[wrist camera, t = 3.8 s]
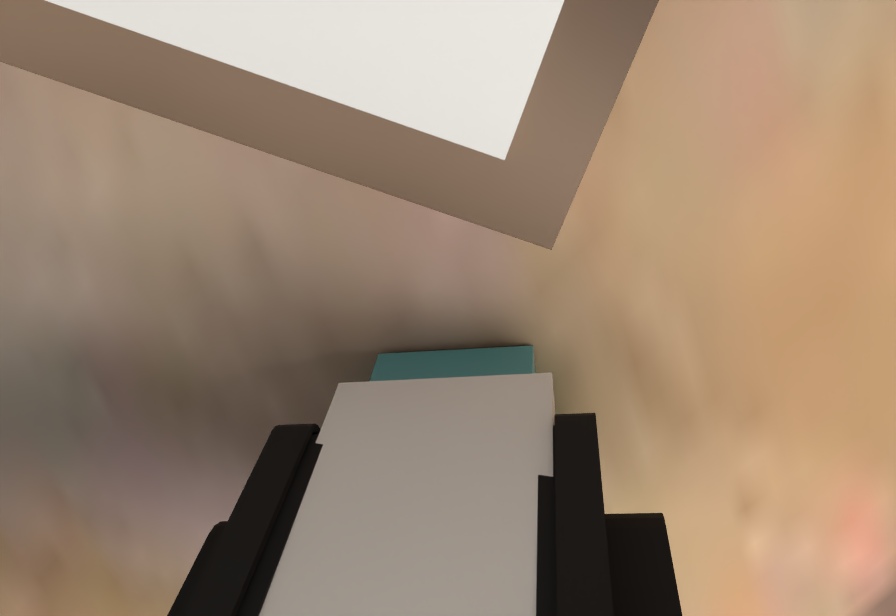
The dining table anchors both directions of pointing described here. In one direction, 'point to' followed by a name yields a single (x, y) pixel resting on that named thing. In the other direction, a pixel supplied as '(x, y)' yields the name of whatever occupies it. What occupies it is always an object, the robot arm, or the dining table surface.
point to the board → (354, 131)
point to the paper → (370, 53)
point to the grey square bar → (424, 491)
